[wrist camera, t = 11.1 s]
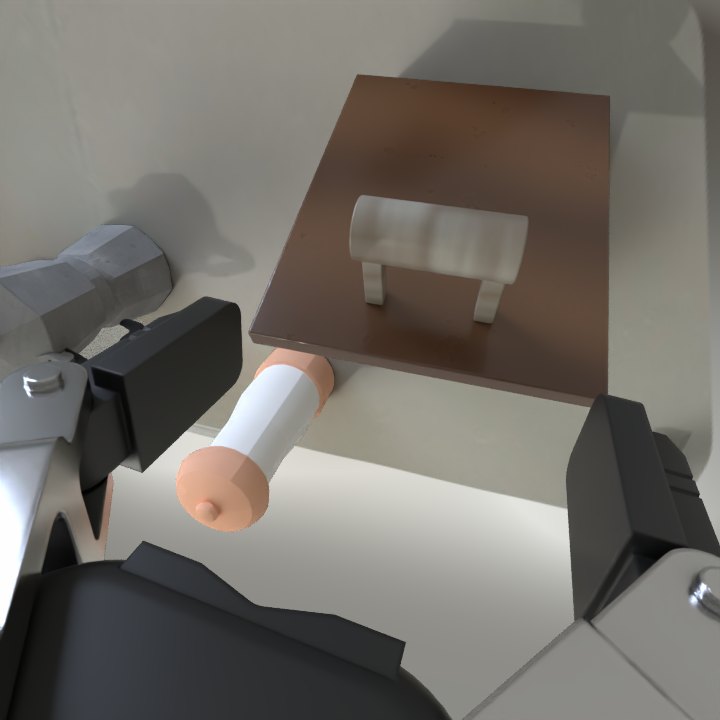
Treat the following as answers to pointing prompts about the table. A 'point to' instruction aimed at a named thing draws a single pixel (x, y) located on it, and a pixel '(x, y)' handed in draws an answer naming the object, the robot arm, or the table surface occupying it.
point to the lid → (455, 239)
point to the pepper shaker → (254, 441)
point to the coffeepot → (79, 296)
